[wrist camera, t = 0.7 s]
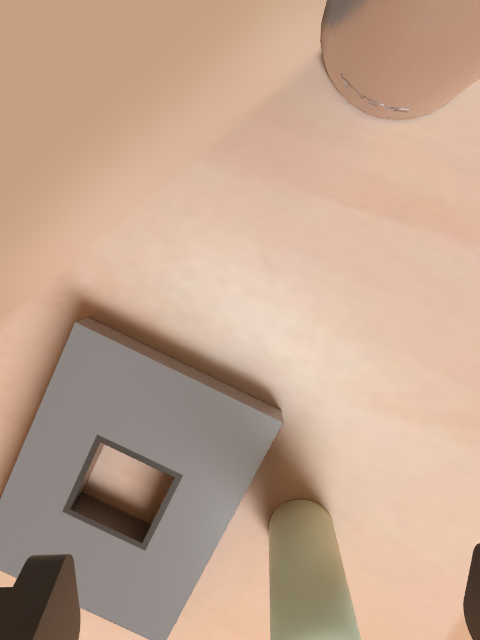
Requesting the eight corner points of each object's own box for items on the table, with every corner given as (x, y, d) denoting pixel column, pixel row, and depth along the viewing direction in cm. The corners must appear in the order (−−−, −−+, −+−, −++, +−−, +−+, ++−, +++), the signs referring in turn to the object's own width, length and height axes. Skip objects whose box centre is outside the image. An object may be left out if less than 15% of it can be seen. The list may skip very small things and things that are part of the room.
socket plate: (87, 316, 30) (75, 322, 28) (281, 410, 30) (282, 422, 28) (-8, 539, 33) (-26, 558, 31) (169, 622, 33) (163, 646, 31)
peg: (286, 488, 31) (297, 604, 21) (344, 516, 31) (382, 644, 21) (257, 540, 32) (254, 675, 22) (314, 567, 32) (337, 713, 22)
